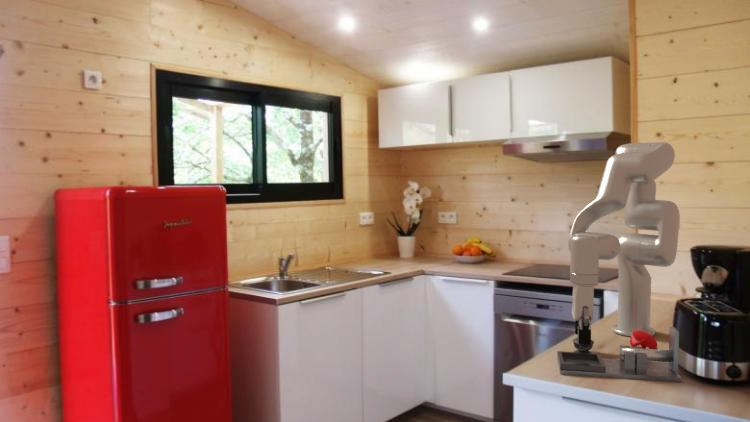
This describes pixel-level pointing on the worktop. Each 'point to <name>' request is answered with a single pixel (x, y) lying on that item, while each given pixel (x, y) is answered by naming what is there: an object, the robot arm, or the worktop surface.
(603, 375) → the jig
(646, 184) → the robot arm
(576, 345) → the salt shaker
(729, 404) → the worktop surface
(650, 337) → the cap
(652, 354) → the shaft
